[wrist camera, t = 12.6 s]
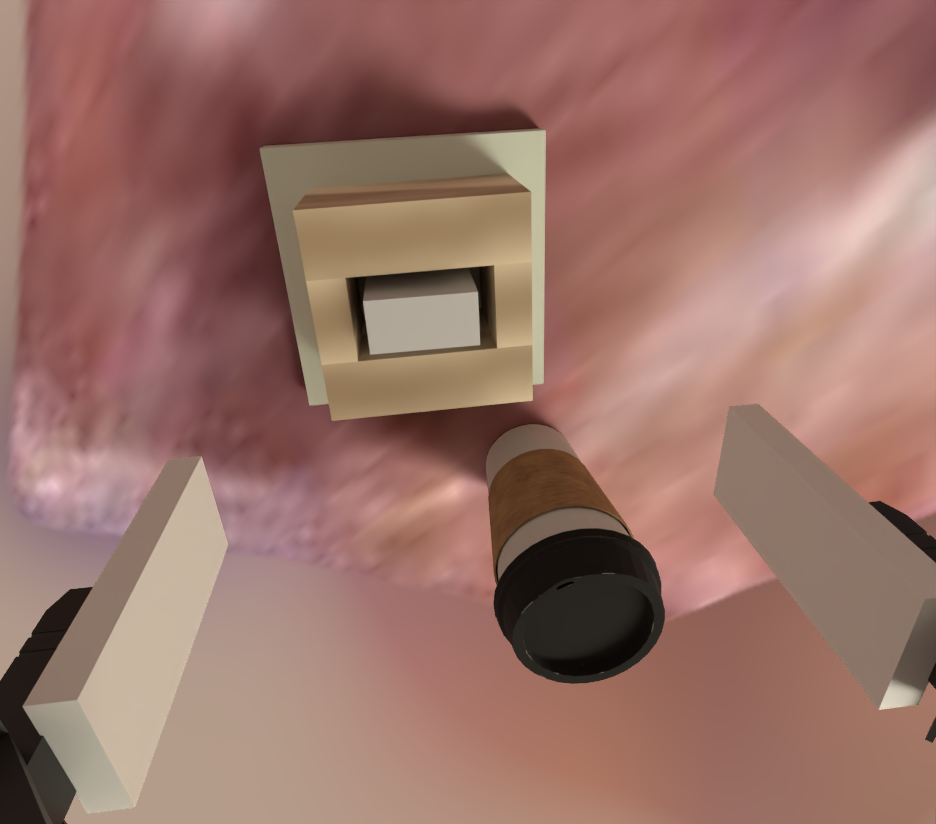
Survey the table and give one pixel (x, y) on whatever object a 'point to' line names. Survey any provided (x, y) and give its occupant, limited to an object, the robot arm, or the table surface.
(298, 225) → the collar
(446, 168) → the base
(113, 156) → the table surface
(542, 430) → the coffee cup
